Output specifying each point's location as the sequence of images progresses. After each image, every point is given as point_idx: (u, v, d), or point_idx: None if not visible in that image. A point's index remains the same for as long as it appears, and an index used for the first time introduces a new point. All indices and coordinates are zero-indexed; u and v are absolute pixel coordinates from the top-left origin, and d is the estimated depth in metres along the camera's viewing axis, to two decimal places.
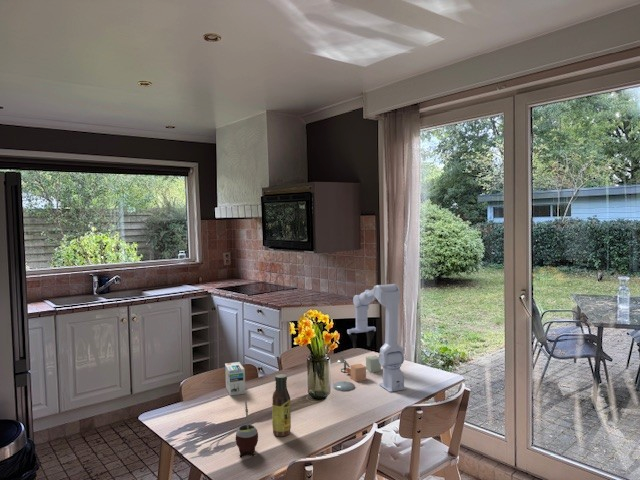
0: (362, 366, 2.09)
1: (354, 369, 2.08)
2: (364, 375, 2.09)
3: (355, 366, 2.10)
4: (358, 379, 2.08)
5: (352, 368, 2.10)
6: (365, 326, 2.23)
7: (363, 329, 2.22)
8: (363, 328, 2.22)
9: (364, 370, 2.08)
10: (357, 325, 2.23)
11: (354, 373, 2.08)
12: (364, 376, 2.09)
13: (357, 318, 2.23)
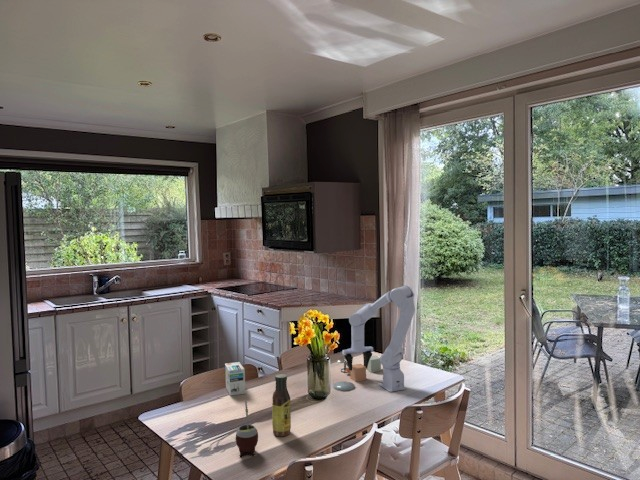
0: (362, 366, 2.09)
1: (354, 369, 2.08)
2: (364, 375, 2.09)
3: (355, 366, 2.10)
4: (358, 379, 2.08)
5: (352, 368, 2.10)
6: (362, 346, 2.07)
7: (359, 350, 2.07)
8: (359, 349, 2.07)
9: (364, 370, 2.08)
10: (353, 345, 2.08)
11: (354, 373, 2.08)
12: (364, 376, 2.09)
13: (356, 338, 2.07)
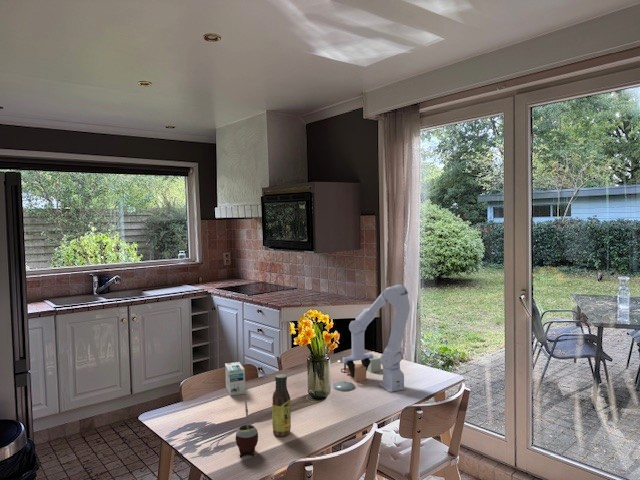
0: (362, 366, 2.09)
1: (354, 369, 2.08)
2: (364, 375, 2.09)
3: (355, 366, 2.10)
4: (358, 379, 2.08)
5: None
6: (362, 354, 2.08)
7: (360, 357, 2.07)
8: (360, 356, 2.07)
9: (364, 370, 2.08)
10: (353, 353, 2.08)
11: (354, 373, 2.08)
12: (364, 376, 2.09)
13: (356, 346, 2.07)
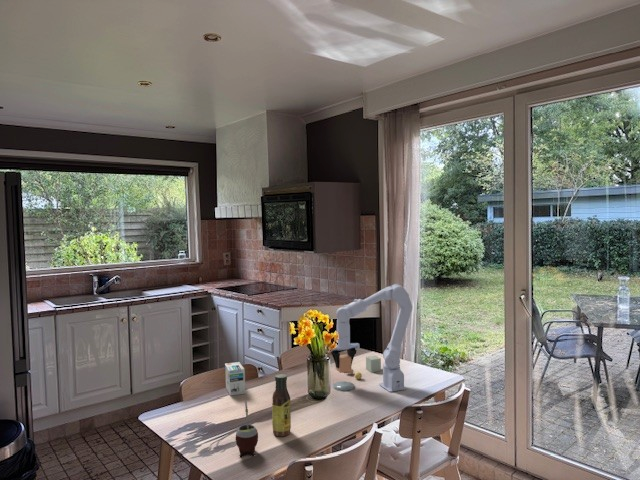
0: (347, 356, 2.00)
1: (339, 359, 1.99)
2: (350, 366, 1.99)
3: (340, 356, 2.00)
4: (343, 370, 1.98)
5: None
6: (347, 343, 1.98)
7: (345, 346, 1.98)
8: (345, 345, 1.98)
9: (349, 361, 1.99)
10: (338, 342, 1.98)
11: (339, 364, 1.99)
12: (349, 367, 1.99)
13: (345, 334, 1.97)
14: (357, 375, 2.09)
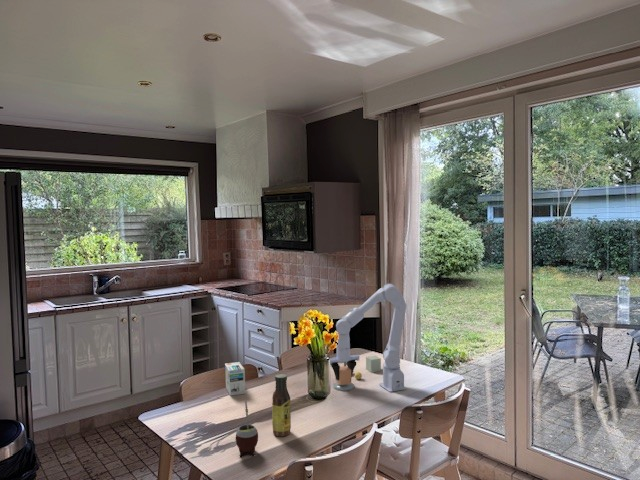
0: (347, 369, 2.00)
1: (339, 372, 1.99)
2: (350, 378, 2.00)
3: (340, 369, 2.00)
4: (343, 382, 1.98)
5: None
6: (347, 355, 1.98)
7: (345, 359, 1.98)
8: (345, 358, 1.98)
9: (349, 373, 1.99)
10: (338, 354, 1.99)
11: (339, 376, 1.99)
12: (349, 379, 1.99)
13: (345, 347, 1.98)
14: (357, 375, 2.09)
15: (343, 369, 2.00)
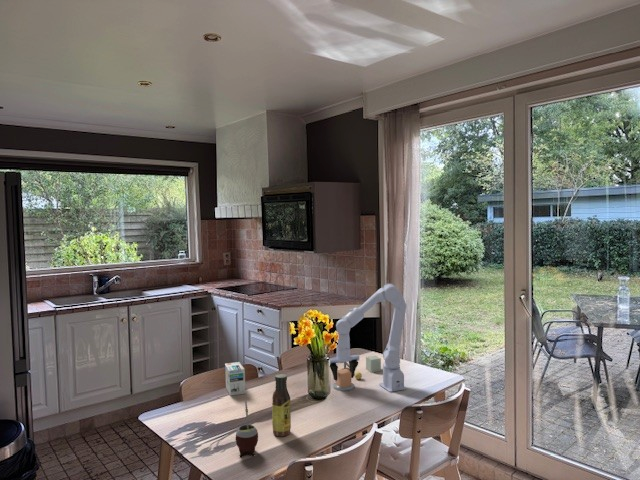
0: (347, 371, 2.00)
1: (339, 375, 1.99)
2: (350, 381, 2.00)
3: (340, 371, 2.00)
4: (343, 385, 1.98)
5: (337, 373, 2.01)
6: (347, 355, 1.98)
7: (345, 359, 1.98)
8: (345, 358, 1.98)
9: (349, 376, 1.99)
10: (338, 354, 1.99)
11: (339, 379, 1.99)
12: (349, 382, 1.99)
13: (345, 347, 1.98)
14: (357, 375, 2.09)
15: (343, 372, 2.00)
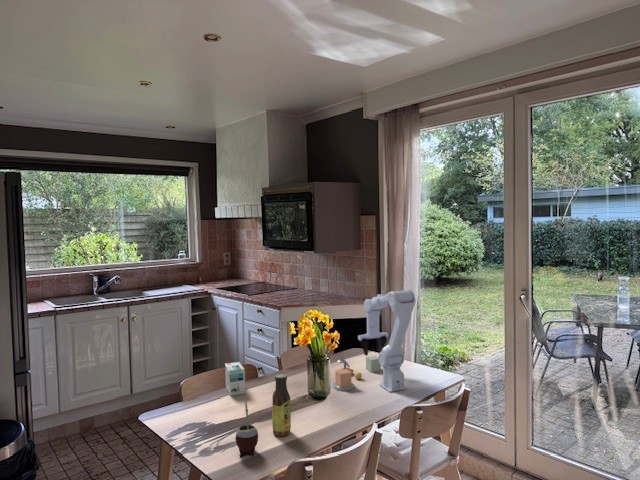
0: (347, 371, 2.00)
1: (339, 375, 1.99)
2: (350, 381, 2.00)
3: (340, 371, 2.00)
4: (343, 385, 1.98)
5: (337, 373, 2.01)
6: (377, 332, 2.12)
7: (375, 335, 2.12)
8: (375, 334, 2.12)
9: (349, 376, 1.99)
10: (368, 331, 2.12)
11: (339, 379, 1.99)
12: (349, 382, 1.99)
13: (368, 323, 2.12)
14: (357, 375, 2.09)
15: (343, 372, 2.00)
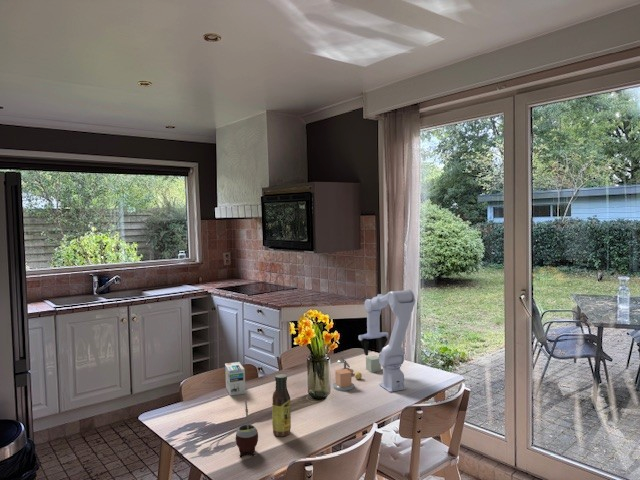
0: (347, 371, 2.00)
1: (339, 375, 1.99)
2: (350, 381, 2.00)
3: (340, 371, 2.00)
4: (343, 385, 1.98)
5: (337, 373, 2.01)
6: (377, 332, 2.12)
7: (375, 335, 2.12)
8: (375, 334, 2.12)
9: (349, 376, 1.99)
10: (369, 331, 2.13)
11: (339, 379, 1.99)
12: (349, 382, 1.99)
13: (369, 323, 2.12)
14: (357, 375, 2.09)
15: (343, 372, 2.00)
